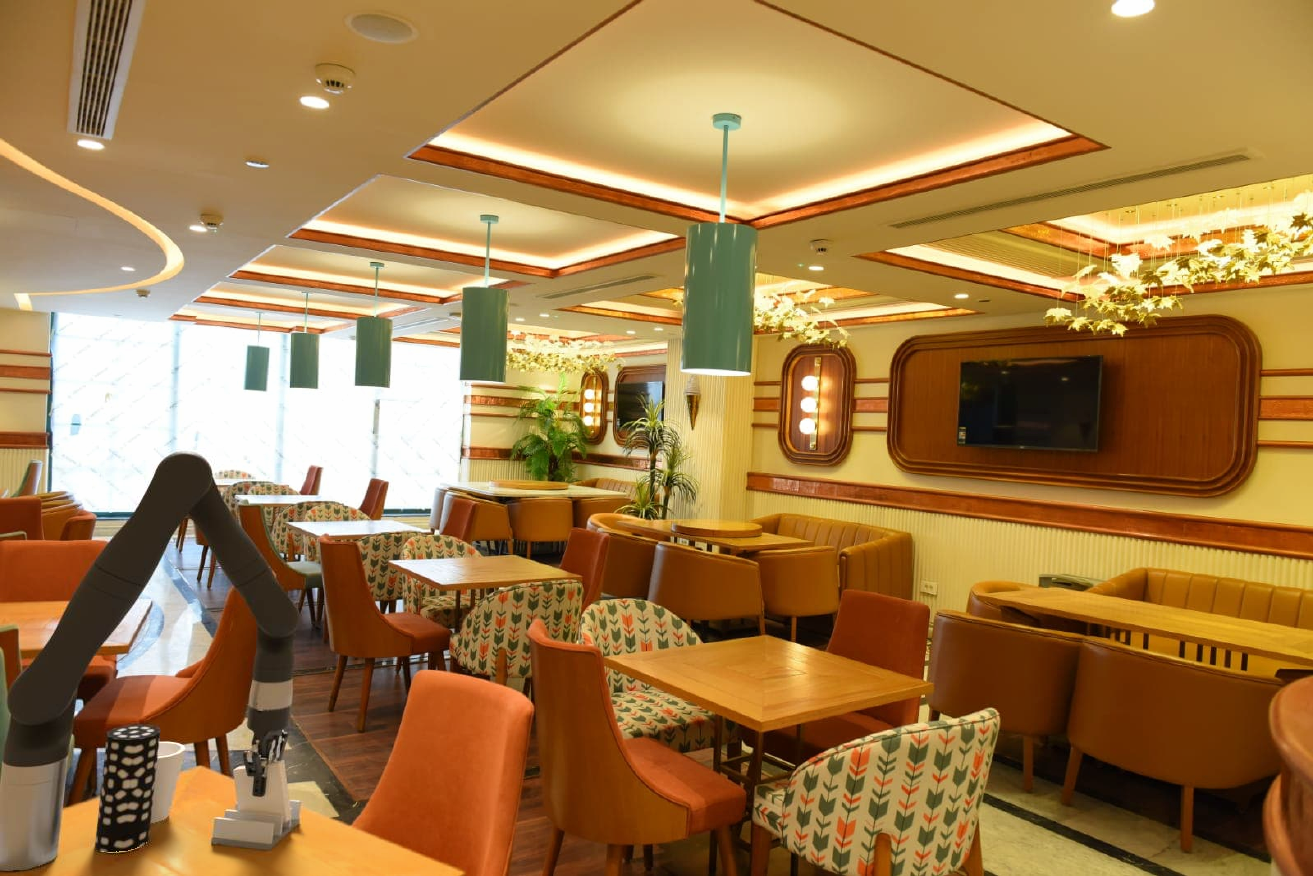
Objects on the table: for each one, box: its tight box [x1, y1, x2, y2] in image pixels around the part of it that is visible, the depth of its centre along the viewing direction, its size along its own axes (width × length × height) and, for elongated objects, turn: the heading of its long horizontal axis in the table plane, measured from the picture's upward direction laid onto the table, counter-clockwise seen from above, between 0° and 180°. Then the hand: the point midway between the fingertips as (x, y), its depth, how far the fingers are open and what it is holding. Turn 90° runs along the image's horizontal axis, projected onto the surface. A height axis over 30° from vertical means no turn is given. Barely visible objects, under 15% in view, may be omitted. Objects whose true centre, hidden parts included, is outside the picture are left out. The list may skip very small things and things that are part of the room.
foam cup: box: [150, 741, 186, 825], centre depth 166 cm, size 10×9×13 cm
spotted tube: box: [94, 724, 161, 852], centre depth 155 cm, size 8×8×20 cm
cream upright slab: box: [232, 759, 292, 822], centre depth 164 cm, size 9×2×11 cm, turn 88°
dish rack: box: [210, 799, 302, 851], centre depth 163 cm, size 11×12×4 cm
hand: (262, 793), depth 164 cm, fingers closed on cream upright slab, 2 cm apart
